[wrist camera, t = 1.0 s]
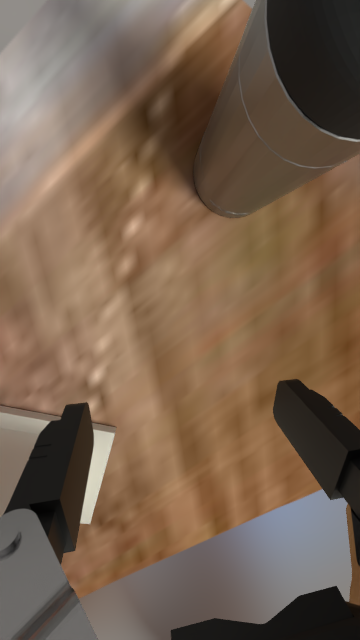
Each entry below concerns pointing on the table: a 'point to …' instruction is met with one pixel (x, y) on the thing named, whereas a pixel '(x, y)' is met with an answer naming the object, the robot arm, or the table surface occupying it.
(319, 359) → the table surface
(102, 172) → the table surface
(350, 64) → the robot arm
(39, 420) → the shelf stand
